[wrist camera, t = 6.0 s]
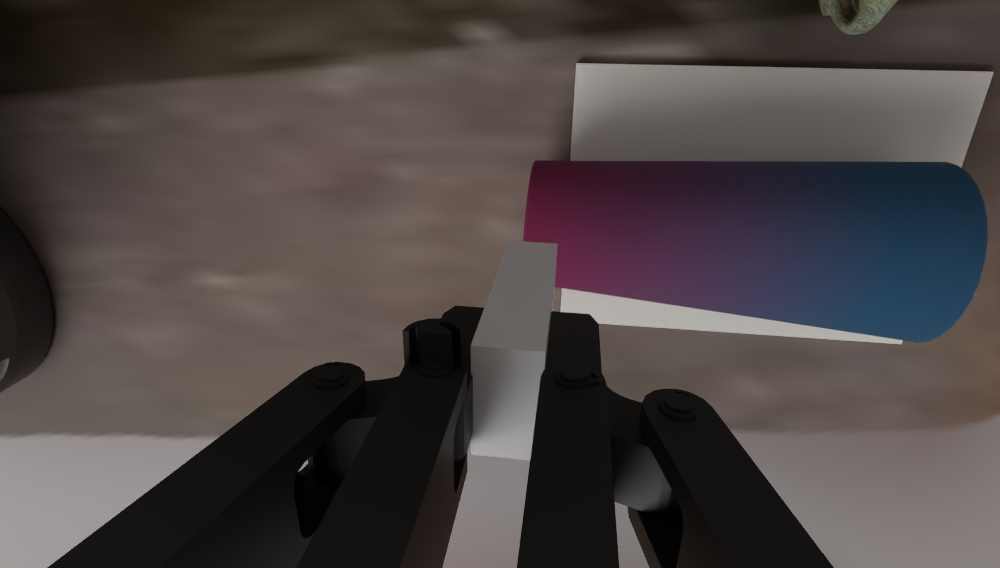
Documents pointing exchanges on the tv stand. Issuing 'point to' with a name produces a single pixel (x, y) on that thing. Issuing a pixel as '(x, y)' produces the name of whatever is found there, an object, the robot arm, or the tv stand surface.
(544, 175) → the cup
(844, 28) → the vessel
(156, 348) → the tv stand surface
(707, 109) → the mat
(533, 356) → the robot arm
